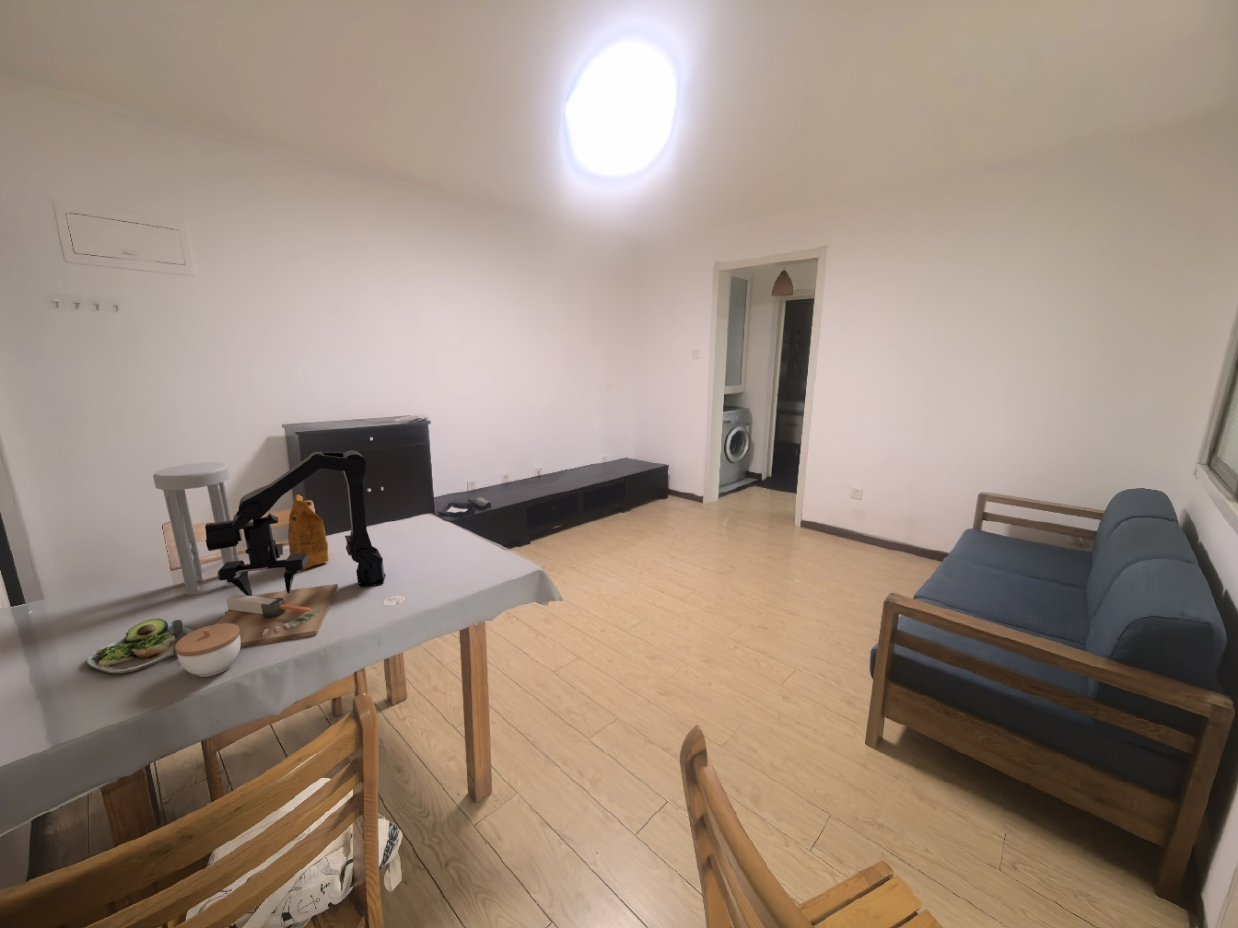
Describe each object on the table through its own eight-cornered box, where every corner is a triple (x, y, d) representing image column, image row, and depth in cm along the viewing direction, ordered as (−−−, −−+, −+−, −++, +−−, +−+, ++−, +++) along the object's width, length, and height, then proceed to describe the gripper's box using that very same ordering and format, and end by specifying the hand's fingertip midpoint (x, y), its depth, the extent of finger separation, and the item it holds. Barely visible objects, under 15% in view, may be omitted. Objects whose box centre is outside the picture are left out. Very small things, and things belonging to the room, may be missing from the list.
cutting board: (338, 587, 141) (337, 582, 141) (316, 634, 118) (315, 629, 118) (239, 600, 133) (238, 595, 133) (196, 654, 110) (195, 648, 110)
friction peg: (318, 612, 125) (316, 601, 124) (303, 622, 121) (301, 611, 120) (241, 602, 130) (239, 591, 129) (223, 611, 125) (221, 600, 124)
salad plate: (221, 640, 116) (218, 623, 115) (126, 687, 100) (121, 668, 99) (173, 623, 123) (169, 606, 122) (76, 664, 107) (71, 646, 106)
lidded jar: (193, 691, 99) (184, 651, 96) (174, 672, 104) (164, 634, 102) (254, 663, 108) (246, 625, 105) (233, 647, 113) (225, 611, 111)
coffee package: (323, 551, 165) (313, 490, 160) (332, 563, 156) (323, 498, 151) (288, 560, 158) (277, 496, 153) (296, 573, 150) (285, 505, 144)
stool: (249, 566, 154) (229, 459, 146) (246, 586, 142) (223, 470, 133) (186, 578, 146) (160, 466, 137) (176, 600, 133) (147, 478, 125)
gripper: (308, 526, 137) (317, 576, 140) (229, 534, 131) (240, 586, 134) (297, 541, 126) (306, 595, 130) (211, 550, 120) (223, 606, 124)
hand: (270, 595), depth 130 cm, fingers open, 8 cm apart
